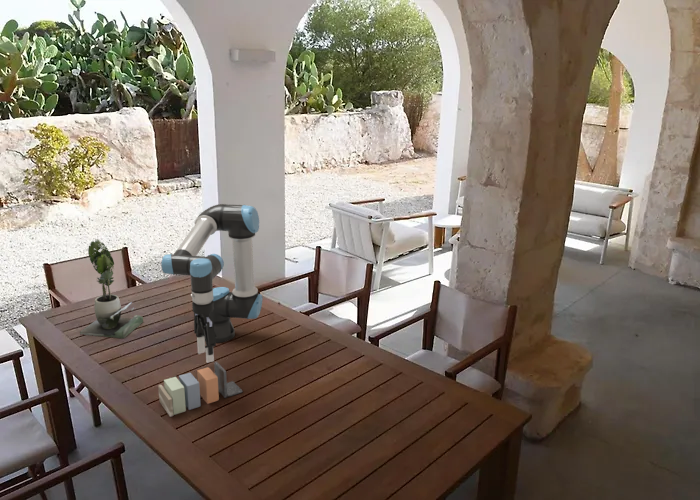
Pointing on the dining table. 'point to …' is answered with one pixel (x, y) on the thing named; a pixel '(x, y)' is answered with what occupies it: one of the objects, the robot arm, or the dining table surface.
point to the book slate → (190, 390)
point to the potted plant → (108, 300)
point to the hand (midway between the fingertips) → (205, 357)
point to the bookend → (225, 382)
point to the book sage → (176, 394)
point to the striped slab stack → (165, 400)
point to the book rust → (208, 385)
